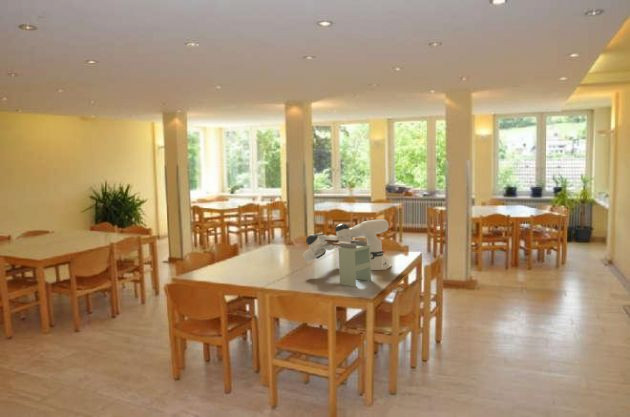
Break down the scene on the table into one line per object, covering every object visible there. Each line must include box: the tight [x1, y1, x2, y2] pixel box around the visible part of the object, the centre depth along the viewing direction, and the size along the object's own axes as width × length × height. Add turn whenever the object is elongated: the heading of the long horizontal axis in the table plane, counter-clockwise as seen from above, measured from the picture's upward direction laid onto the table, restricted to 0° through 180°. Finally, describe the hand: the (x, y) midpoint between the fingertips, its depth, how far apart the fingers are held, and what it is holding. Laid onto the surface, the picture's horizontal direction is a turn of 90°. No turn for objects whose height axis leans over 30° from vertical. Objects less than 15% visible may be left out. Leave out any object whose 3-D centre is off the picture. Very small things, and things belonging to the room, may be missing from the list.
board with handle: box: [325, 239, 353, 247], centre depth 368 cm, size 10×20×3 cm, turn 49°
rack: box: [337, 237, 372, 287], centre depth 361 cm, size 20×13×31 cm, turn 139°
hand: (331, 241), depth 372 cm, fingers open, 8 cm apart
